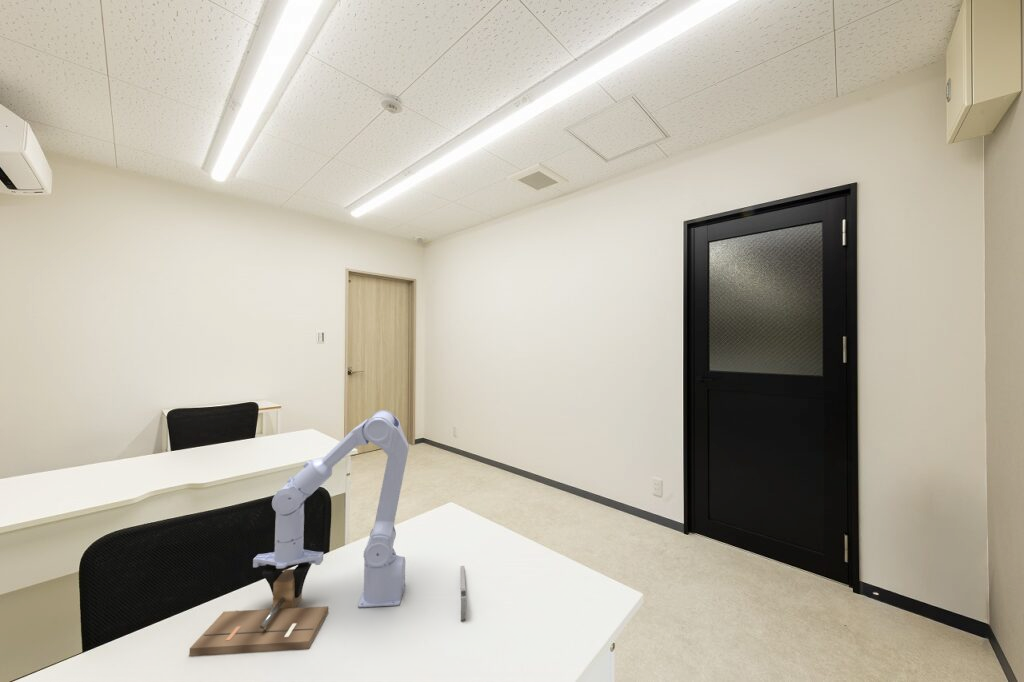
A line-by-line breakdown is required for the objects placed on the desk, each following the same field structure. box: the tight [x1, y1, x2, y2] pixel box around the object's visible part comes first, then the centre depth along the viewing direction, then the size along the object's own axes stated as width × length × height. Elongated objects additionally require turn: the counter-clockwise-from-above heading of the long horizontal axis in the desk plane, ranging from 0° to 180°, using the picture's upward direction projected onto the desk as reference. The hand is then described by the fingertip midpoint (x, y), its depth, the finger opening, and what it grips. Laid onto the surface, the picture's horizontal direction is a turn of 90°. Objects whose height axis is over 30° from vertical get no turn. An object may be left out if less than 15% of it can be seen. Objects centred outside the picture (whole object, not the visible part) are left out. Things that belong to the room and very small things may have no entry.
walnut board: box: [188, 605, 329, 657], centre depth 78 cm, size 22×10×2 cm, turn 96°
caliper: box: [460, 565, 467, 622], centre depth 93 cm, size 20×1×6 cm, turn 8°
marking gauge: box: [260, 568, 303, 632], centre depth 83 cm, size 4×13×7 cm, turn 6°
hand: (287, 595), depth 86 cm, fingers closed on marking gauge, 4 cm apart
